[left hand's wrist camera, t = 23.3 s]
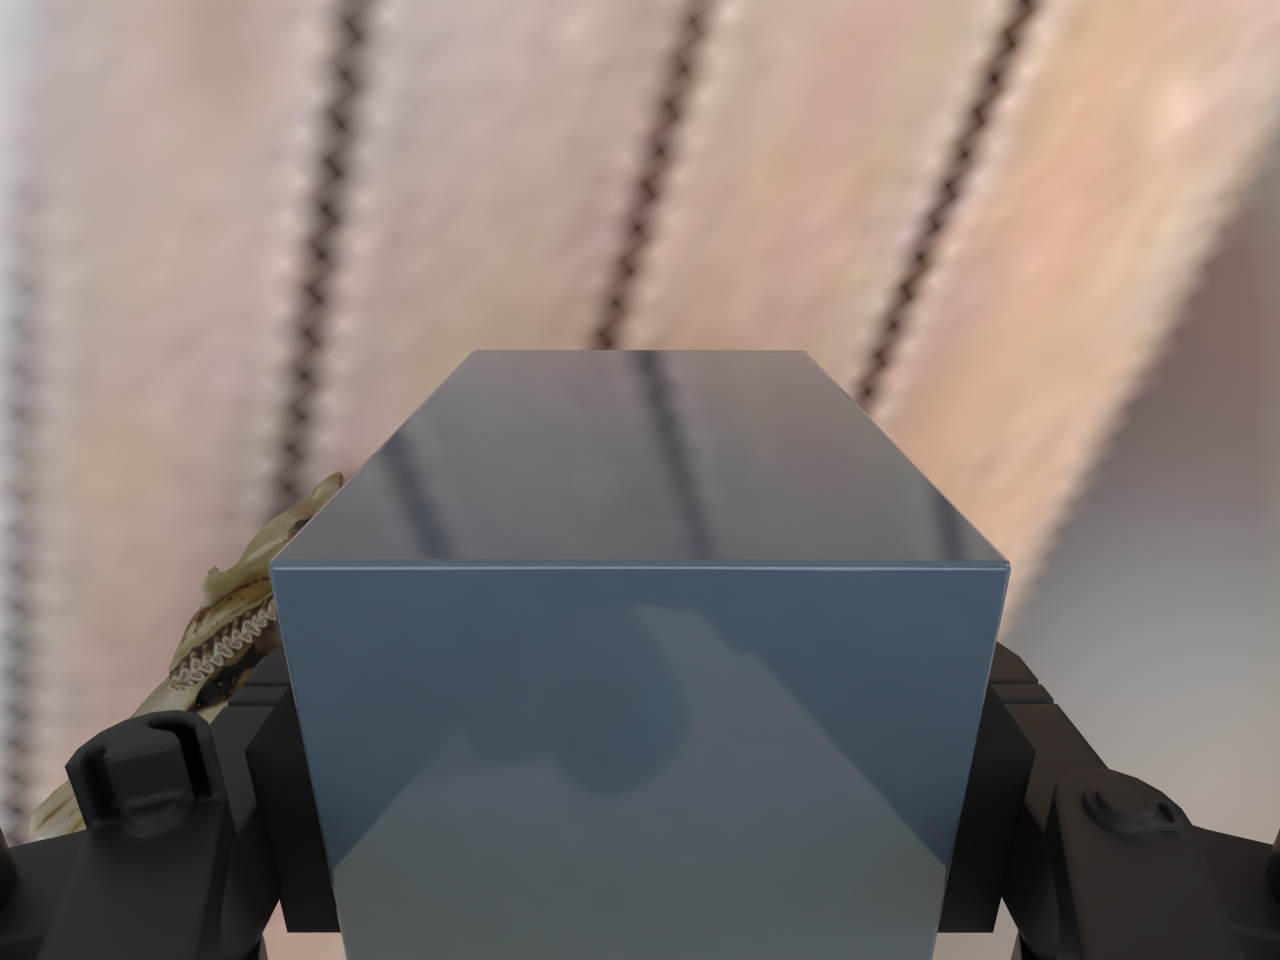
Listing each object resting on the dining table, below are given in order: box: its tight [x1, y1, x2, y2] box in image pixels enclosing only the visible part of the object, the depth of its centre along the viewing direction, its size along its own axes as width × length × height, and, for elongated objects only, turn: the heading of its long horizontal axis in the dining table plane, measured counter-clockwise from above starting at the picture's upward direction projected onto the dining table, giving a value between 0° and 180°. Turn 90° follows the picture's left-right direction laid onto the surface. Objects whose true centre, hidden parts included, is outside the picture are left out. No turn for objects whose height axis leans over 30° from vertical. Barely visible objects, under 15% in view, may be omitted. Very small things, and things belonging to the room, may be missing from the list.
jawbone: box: [28, 472, 343, 839], centre depth 28 cm, size 9×15×10 cm
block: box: [268, 350, 1011, 960], centre depth 13 cm, size 7×7×10 cm
